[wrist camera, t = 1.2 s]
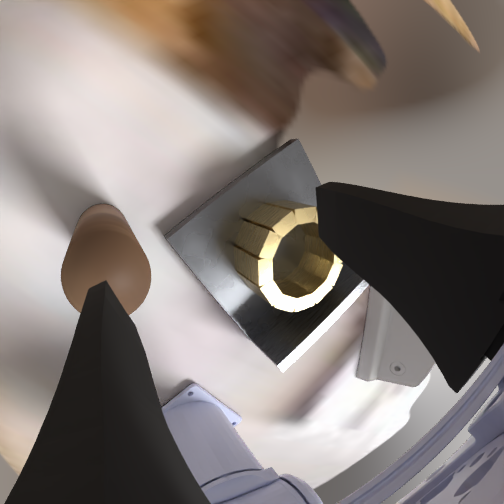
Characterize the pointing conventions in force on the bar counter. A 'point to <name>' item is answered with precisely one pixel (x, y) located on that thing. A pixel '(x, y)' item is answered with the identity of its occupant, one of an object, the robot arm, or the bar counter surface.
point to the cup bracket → (269, 256)
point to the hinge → (391, 347)
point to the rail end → (105, 259)
